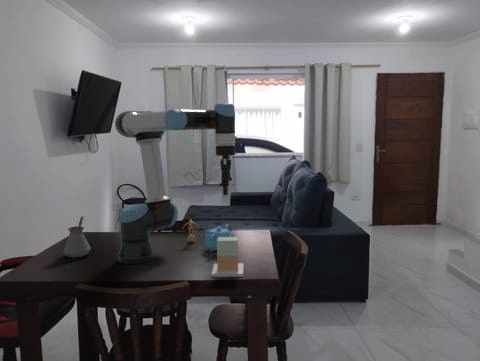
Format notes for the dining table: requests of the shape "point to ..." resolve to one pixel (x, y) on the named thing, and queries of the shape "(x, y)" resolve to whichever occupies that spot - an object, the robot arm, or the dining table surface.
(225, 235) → the teapot
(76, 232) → the coffee pot
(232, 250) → the sage brick
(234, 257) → the terracotta brick
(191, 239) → the figurine
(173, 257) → the dining table surface
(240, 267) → the base plate
